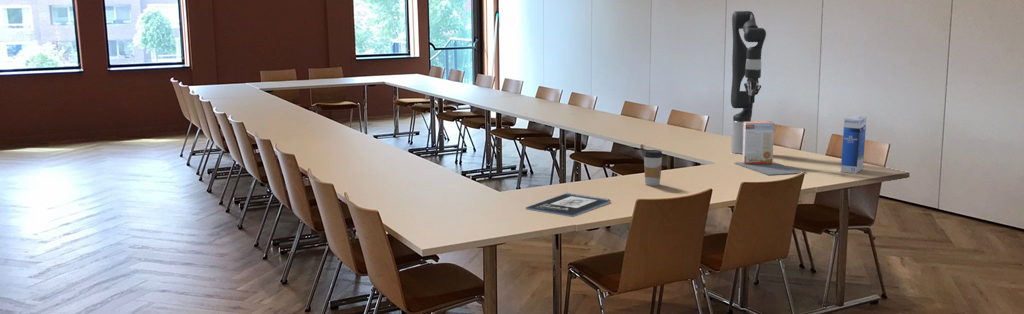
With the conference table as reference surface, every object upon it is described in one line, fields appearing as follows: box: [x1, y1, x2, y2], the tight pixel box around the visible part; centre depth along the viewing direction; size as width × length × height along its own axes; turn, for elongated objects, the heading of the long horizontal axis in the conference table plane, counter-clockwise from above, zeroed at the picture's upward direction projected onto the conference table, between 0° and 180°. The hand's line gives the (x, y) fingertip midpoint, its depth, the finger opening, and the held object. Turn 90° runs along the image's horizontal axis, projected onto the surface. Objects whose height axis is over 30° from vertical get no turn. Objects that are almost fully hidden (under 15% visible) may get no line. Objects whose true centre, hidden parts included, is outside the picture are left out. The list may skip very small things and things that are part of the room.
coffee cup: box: [643, 149, 664, 187], centre depth 384 cm, size 8×8×15 cm
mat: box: [734, 161, 807, 176], centre depth 423 cm, size 32×20×1 cm, turn 15°
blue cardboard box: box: [840, 115, 867, 174], centre depth 415 cm, size 13×8×26 cm, turn 145°
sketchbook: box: [525, 192, 612, 217], centre depth 345 cm, size 22×30×2 cm
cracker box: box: [741, 120, 775, 164], centre depth 432 cm, size 14×6×21 cm, turn 86°
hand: (751, 102), depth 436 cm, fingers closed
